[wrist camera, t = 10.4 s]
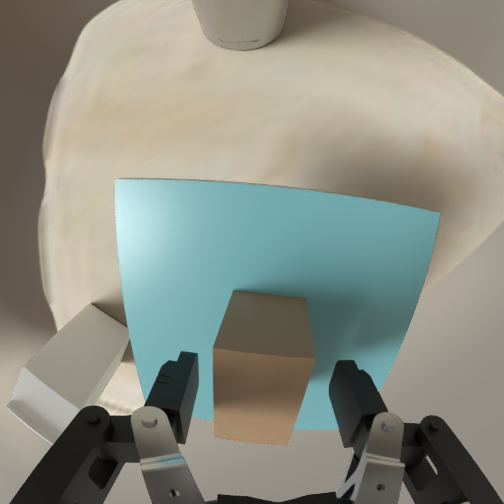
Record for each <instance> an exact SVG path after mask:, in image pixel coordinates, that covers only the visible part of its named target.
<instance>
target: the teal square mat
mask: <svg viewBox="0 0 504 504" xmlns="http://www.w3.org/2000/svg"><path fill="white" fill-rule="evenodd" d="M115 213H116V234H117V249H118V260H119V270H120V279H121V287H122V295H123V301H124V308H125V314H126V320H127V326H128V331H129V336H130V341H131V346H132V351H133V356H134V360H135V364H136V368H137V373H138V377H139V380H140V384H141V388H142V392H143V395H144V399H145V402H146V400H147V398H148V395H149V393H150V391H151V389H152V386H153V384H154V382H155V379H156V377H157V376H158V373H159V370H160V368H161V366H162V365H163V364H165V363H166V362H167V361H168V360H172V361H177V360H178V357H179V355H180V352H181V351H187V352H194V353H198V365H199V386H198V391H197V396H196V400H195V404H194V408H193V412H192V417H197V418H202V419H207V420H212V421H214V437H215V438H220V439H227V440H234V441H241V442H249V443H259V444H271V445H287V444H288V442H289V439H290V436H291V434H292V431H293V429H297V430H339V428H338V425H337V421H336V418H335V414H334V411H333V408H332V404H331V401H330V398H329V383H330V380H331V377H332V374H333V371H334V368H335V365H336V362H337V361H338V360H354V361H355V363H356V365H357V367H358V369H359V370H364V371H365V372H367V373H368V374H369V375H370V376H371V378H372V380H373V382H374V385H375V386H376V388H377V391H378V392H379V391H380V389H381V387H382V385H383V383H384V381H385V379H386V377H387V375H388V373H389V371H390V369H391V367H392V365H393V363H394V360H395V358H396V356H397V354H398V351H399V349H400V347H401V344H402V342H403V340H404V337H405V335H406V332H407V330H408V327H409V325H410V322H411V319H412V317H413V314H414V311H415V308H416V305H417V303H418V300H419V297H420V293H421V290H422V287H423V284H424V281H425V277H426V274H427V270H428V267H429V263H430V259H431V255H432V251H433V247H434V243H435V238H436V234H437V229H438V224H439V219H440V214H441V213H439V212H436V211H434V210H430V209H425V208H420V207H415V206H411V205H405V204H400V203H395V202H390V201H384V200H379V199H373V198H367V197H361V196H354V195H348V194H341V193H334V192H327V191H320V190H312V189H304V188H295V187H286V186H277V185H266V184H255V183H243V182H230V181H214V180H195V179H166V178H121V179H115Z"/></svg>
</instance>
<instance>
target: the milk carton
mask: <svg viewBox="0 0 504 504" xmlns="http://www.w3.org/2000/svg"><path fill="white" fill-rule="evenodd" d="M129 340H130V336H129V331H128V328H127V327H126V326H124V325H122V324H121V323H119V322H118V321H116V320H114V319H113V318H111V317H110V316H108V315H107V314H105V313H104V312H102V311H101V310H99V309H98V308H96V307H95V306H93V305H92V304H88V305H87V306H86V307H85V308H84V309H83V310H82V311H80V312H79V313H78V314H77V315H76V316H75V317H74V318H73V319H72V320H71V321H70V322H68V323H67V324H66V325H65V326H64V327H63V328H62V329H61V330H60V331H59V332H58V333H57V334H56V335H55V336H53V338H51V339H50V340H49V341H48V342H47V343H46V344H45V345H44V346H43V347H42V348H41V349H40V350H39V351H38V352H37V353H36V354H35V355H34V356H33V357H32V358H31V359H30V360H29V361H28V362H27V363H26V364H25V365H24V366H23V368H22V371H21V373H20V376H19V379H18V381H17V384H16V387H15V390H14V393H13V396H12V399H11V401H10V402H9V404H8V405H7V406H6V407H7V409H8V410H10V411H11V412H12V413H13V414H14V415H15V416H16V417H17V418H19V419H20V420H21V421H22V422H23V423H24V424H26V425H27V426H28V427H29V428H31V429H32V430H33V431H34V432H36V433H37V434H38V435H40V436H41V437H42V438H44V439H45V440H46V441H48V442H49V443H51V444H52V445H53V444H54V443H55V441H56V440H57V439H58V438H59V436H60V435H61V434H62V432H63V431H64V430H65V429H66V427H67V426H68V425H69V424H70V422H71V421H72V420H73V419H74V417H75V416H76V415H77V414H78V412H79V411H80V410H81V409H83V408H84V407H87V406H93V405H94V406H95V404H96V402H97V400H98V399H99V397H100V396H101V394H102V392H103V391H104V389H105V387H106V386H107V384H108V382H109V381H110V379H111V378H112V376H113V374H114V373H115V371H116V370H117V368H118V366H119V365H120V363H121V360H122V358H123V355H124V352H125V350H126V347H127V345H128V342H129Z"/></svg>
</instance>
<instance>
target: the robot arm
mask: <svg viewBox="0 0 504 504" xmlns="http://www.w3.org/2000/svg"><path fill="white" fill-rule="evenodd" d="M191 1H192V3H193V6H194V9H195V11H196V14H197V17H198V19H199V22H200V24H201V27H202V29H203V32H204V34H205V35H206V37H207V38H208V39H209V40H210V41H212V42H213V43H214V44H216V45H218V46H220V47H223V48H227V49H231V50H251V49H256V48H259V47H262V46H265V45H267V44H269V43H270V42H272V41H273V40H274V39H276V38H277V37H278V36H279V34H280V33H281V31H282V29H283V26H284V22H285V17H286V13H287V9H288V4H289V0H191ZM198 386H199V365H198V353H194V352H187V351H181V352H180V355H179V357H178V360H177V361H172V360H168V361H167V362H166V363H165V364H163V365H162V366H161V368H160V370H159V373H158V376H157V377H156V379H155V382H154V384H153V386H152V389H151V391H150V393H149V395H148V398H147V400H146V402H145V405H144V407H141V408H139V409H137V410H136V411H134V412H133V414H132V415H128V416H110V415H109V413H108V412H107V410H105V409H104V408H102V407H100V406H94V405H93V406H87V407H84V408H83V409H81V410H80V411H79V412H78V414H77V415H76V416H75V417H74V419H73V420H72V421H71V422H70V424H69V425H68V426H67V427H66V429H65V430H64V431H63V432H62V434H61V435H60V436H59V438H58V439H57V440H56V441H55V443H54V444H53V445H52V447H51V448H50V449H49V450H48V452H47V453H46V454H45V456H44V457H43V458H42V460H41V461H40V462H39V464H38V465H37V466H36V468H35V469H34V470H33V472H32V473H31V474H30V476H29V477H28V478H27V480H26V481H25V483H24V484H23V485H22V487H21V488H20V490H19V491H18V492H17V494H16V495H15V496H14V498H13V500H12V501H11V502H10V504H103V503H104V501H105V499H106V497H107V495H108V493H109V491H110V490H111V488H112V486H113V484H114V482H115V480H116V478H117V477H118V475H119V473H120V471H121V469H122V467H123V465H124V464H125V462H130V463H137V462H139V463H140V462H141V464H140V466H141V471H142V474H143V477H144V480H145V483H146V487H147V490H148V493H149V496H150V499H151V502H152V504H398V500H399V495H400V490H401V486H402V481H403V482H404V484H405V486H406V488H407V489H408V491H409V493H410V495H411V497H412V499H413V501H414V503H415V504H504V503H503V502H502V500H501V499H500V498H499V496H498V494H497V493H496V491H495V490H494V488H493V487H492V486H491V484H490V482H489V481H488V480H487V478H486V477H485V475H484V474H483V472H482V471H481V470H480V468H479V467H478V465H477V464H476V462H475V461H474V460H473V459H472V457H471V456H470V454H469V453H468V452H467V450H466V449H465V448H464V446H463V445H462V443H461V442H460V441H459V439H458V438H457V437H456V435H455V434H454V433H453V432H452V430H451V429H450V428H449V426H448V425H447V424H446V423H445V421H444V420H443V419H442V418H440V417H438V416H432V415H430V416H427V417H425V418H423V420H422V421H421V422H420V424H416V423H403V421H402V420H401V418H400V417H399V416H397V415H396V414H393V413H389V412H388V410H387V408H386V406H385V404H384V402H383V400H382V398H381V396H380V394H379V392H378V391H377V388H376V386H375V385H374V382H373V380H372V378H371V376H370V375H369V374H368V373H367V372H365V371H364V370H359V369H358V367H357V365H356V363H355V361H354V360H338V361H337V362H336V365H335V368H334V371H333V374H332V377H331V380H330V383H329V398H330V401H331V404H332V408H333V411H334V414H335V418H336V421H337V425H338V428H339V432H340V435H341V438H342V442H343V446H344V448H347V447H353V449H354V452H353V454H352V456H351V458H350V461H349V465H348V467H347V470H346V473H345V476H344V478H343V481H342V484H341V486H340V488H339V490H338V492H337V493H336V492H329V493H321V494H311V495H306V496H302V497H299V498H296V499H292V500H288V501H284V502H272V501H267V500H262V499H257V498H252V497H248V496H232V495H221V494H218V497H217V500H213V501H207V502H205V501H204V499H203V497H202V495H201V493H200V491H199V489H198V487H197V485H196V483H195V480H194V478H193V476H192V474H191V472H190V469H189V467H188V465H187V463H186V461H185V459H184V457H182V455H181V452H180V450H179V447H178V443H180V444H185V442H186V438H187V434H188V429H189V424H190V421H191V417H192V412H193V408H194V404H195V400H196V396H197V391H198ZM427 456H429V458H430V459H431V461H432V463H433V464H434V466H435V467H436V469H437V473H438V474H437V475H436V473H435V472H434V470H433V468H432V467H431V465H430V464H429V462H428V460H427V459H426V457H427Z"/></svg>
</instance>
